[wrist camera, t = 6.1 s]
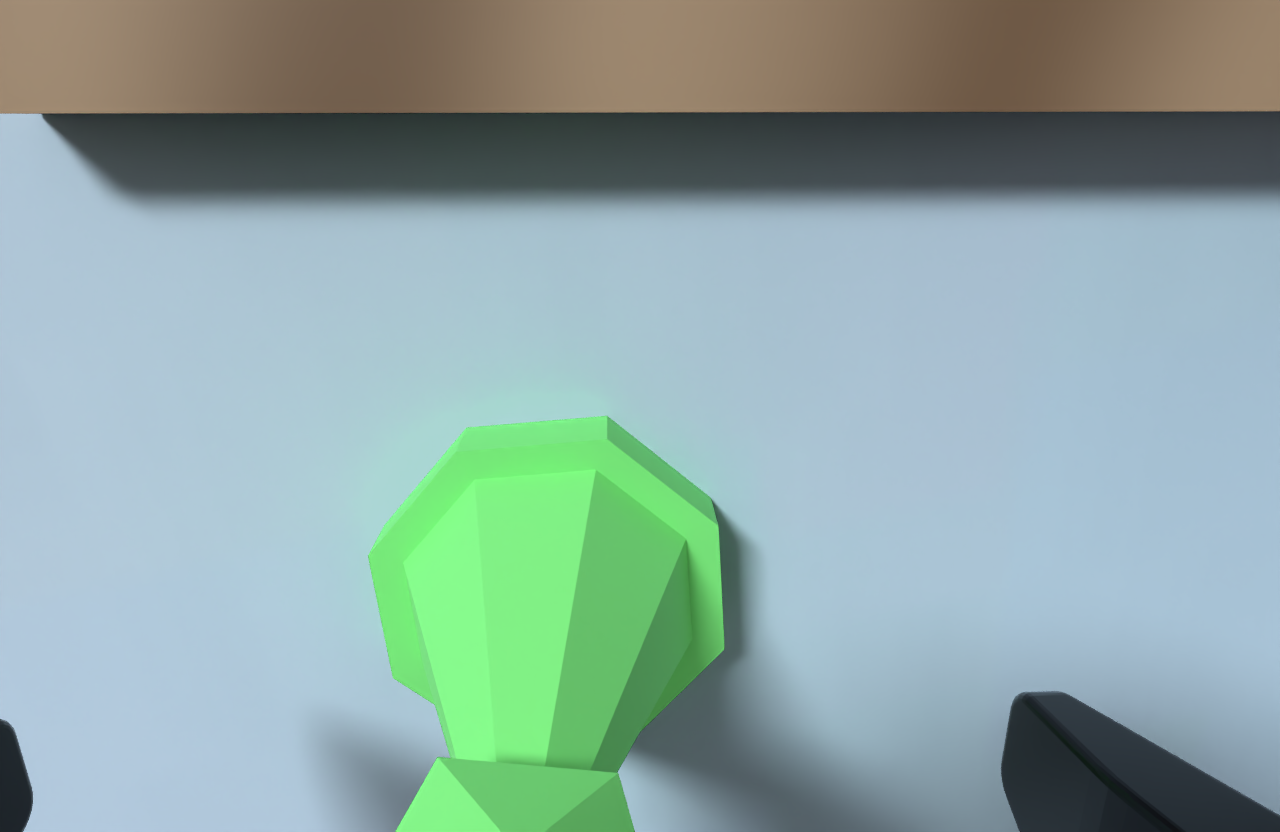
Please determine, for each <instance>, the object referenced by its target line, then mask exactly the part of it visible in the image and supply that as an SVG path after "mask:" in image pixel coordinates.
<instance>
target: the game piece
mask: <svg viewBox="0 0 1280 832" xmlns="http://www.w3.org/2000/svg"><path fill="white" fill-rule="evenodd" d="M368 558H369V563H370V568H371V573H372V578H373V583H374V588H375V592H376V597H377V602H378V607H379V612H380V617H381V622H382V627H383V632H384V637H385V641H386V646H387V651H388V656H389V661H390V666H391V671H392V676H393V678H394V679H395V680H397V681H398V682H400V683H402V684H403V685H405V686H406V687H408V688H409V689H411V690H412V691H414V692H416V693H417V694H419V695H420V696H422V697H423V698H425V699H427V700H428V701H430V702H431V703H433V704H434V705H435V707H436V710H437V714H438V717H439V720H440V724H441V727H442V731H443V734H444V737H445V741H446V744H447V747H448V751H449V754H450V757H451V758H443V757H437V759H436V761H435V762H434V764H433V766H432V768H431V769H430V771H429V773H428V775H427V777H426V778H425V780H424V782H423V784H422V785H421V787H420V789H419V791H418V792H417V794H416V796H415V798H414V800H413V801H412V803H411V805H410V807H409V808H408V810H407V812H406V814H405V815H404V817H403V819H402V821H401V823H400V824H399V826H398V828H397V830H396V831H395V832H635V830H634V827H633V823H632V820H631V816H630V813H629V809H628V806H627V802H626V799H625V795H624V792H623V788H622V785H621V781H620V778H619V774H618V773H617V772H618V770H619V769H620V767H621V765H622V763H623V761H624V760H625V758H626V756H627V754H628V753H629V751H630V749H631V747H632V745H633V744H634V742H635V740H636V738H637V736H638V735H639V733H640V732H641V731H642V730H643V729H644V728H645V727H646V726H647V725H648V724H649V723H650V722H651V721H652V720H653V719H654V718H655V717H656V716H657V715H658V714H659V713H660V712H661V711H662V710H663V709H664V708H665V707H666V706H667V705H668V704H669V703H670V702H671V701H672V700H673V699H674V698H675V697H676V696H677V695H679V694H680V693H681V692H682V691H683V690H684V689H685V688H686V687H687V686H688V685H689V684H690V683H691V682H692V681H693V680H694V679H695V678H696V677H697V676H698V675H699V674H700V673H701V672H702V671H703V670H704V669H705V668H706V667H707V666H708V665H709V664H710V663H711V662H712V661H713V660H714V659H715V658H716V657H717V656H718V655H719V654H720V653H721V652H722V651H723V650H724V649H725V648H724V627H723V607H722V587H721V566H720V546H719V526H718V522H717V519H716V515H715V511H714V508H713V504H712V500H711V498H710V497H709V496H708V495H706V494H705V493H704V492H703V491H701V490H700V489H699V488H698V487H696V486H695V485H694V484H693V483H691V482H690V481H689V480H687V479H686V478H685V477H684V476H682V475H681V474H680V473H679V472H677V471H676V470H675V469H674V468H672V467H671V466H670V465H669V464H667V463H666V462H665V461H663V460H662V459H661V458H660V457H658V456H657V455H656V454H655V453H653V452H652V451H651V450H650V449H648V448H647V447H646V446H644V445H643V444H642V443H641V442H639V441H638V440H637V439H636V438H634V437H633V436H632V435H631V434H629V433H628V432H627V431H625V430H624V429H623V428H622V427H620V426H619V425H618V424H617V423H615V422H614V421H613V420H612V419H610V418H609V417H608V416H601V417H589V418H577V419H564V420H552V421H540V422H528V423H516V424H504V425H492V426H480V427H468V428H466V429H465V430H464V431H463V433H462V434H461V435H460V436H459V437H458V438H457V440H456V441H455V442H454V443H453V444H452V446H451V447H450V448H449V449H448V450H447V452H446V453H445V454H444V455H443V456H442V458H441V459H440V460H439V461H438V462H437V463H436V465H435V466H434V467H433V468H432V469H431V471H430V472H429V473H428V474H427V475H426V477H425V478H424V479H423V480H422V481H421V482H420V484H419V485H418V486H417V487H416V488H415V490H414V491H413V492H412V493H411V494H410V496H409V497H408V498H407V499H406V500H405V501H404V503H403V504H402V505H401V506H400V507H399V509H398V510H397V511H396V512H395V513H394V515H393V516H392V517H391V518H390V519H389V521H388V522H387V523H386V524H385V525H384V527H383V529H382V531H381V533H380V534H379V536H378V538H377V540H376V542H375V544H374V546H373V548H372V549H371V551H370V553H369V555H368Z"/></svg>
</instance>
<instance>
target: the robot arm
mask: <svg viewBox="0 0 1280 832" xmlns="http://www.w3.org/2000/svg"><path fill="white" fill-rule="evenodd" d="M1001 776H1002V783H1003V787H1004V791H1005V794H1006V797H1007V800H1008V802H1009V805H1010V808H1011V810H1012V813H1013V815H1014V818H1015V821H1016V823H1017V826H1018V829H1019V831H1020V832H1280V815H1278V814H1276V813H1275V812H1273V811H1271V810H1269V809H1268V808H1266V807H1264V806H1262V805H1261V804H1259V803H1257V802H1255V801H1254V800H1252V799H1250V798H1248V797H1247V796H1245V795H1243V794H1241V793H1240V792H1238V791H1236V790H1234V789H1233V788H1231V787H1229V786H1227V785H1226V784H1224V783H1222V782H1220V781H1219V780H1217V779H1215V778H1213V777H1212V776H1210V775H1208V774H1206V773H1205V772H1203V771H1201V770H1199V769H1198V768H1196V767H1194V766H1192V765H1191V764H1189V763H1187V762H1185V761H1184V760H1182V759H1180V758H1178V757H1177V756H1175V755H1173V754H1171V753H1170V752H1168V751H1166V750H1164V749H1163V748H1161V747H1159V746H1157V745H1156V744H1154V743H1152V742H1150V741H1149V740H1147V739H1145V738H1144V737H1142V736H1140V735H1138V734H1137V733H1135V732H1133V731H1131V730H1130V729H1128V728H1126V727H1124V726H1123V725H1121V724H1119V723H1117V722H1116V721H1114V720H1112V719H1110V718H1109V717H1107V716H1105V715H1103V714H1102V713H1100V712H1098V711H1096V710H1095V709H1093V708H1091V707H1089V706H1088V705H1086V704H1084V703H1082V702H1081V701H1079V700H1077V699H1075V698H1074V697H1072V696H1070V695H1068V694H1066V693H1063V692H1058V691H1047V692H1023V693H1021V694H1019V695H1017V696H1016V697H1015V699H1014V701H1013V703H1012V706H1011V710H1010V716H1009V722H1008V727H1007V733H1006V739H1005V745H1004V751H1003V757H1002V763H1001ZM32 804H33V792H32V787H31V783H30V780H29V777H28V773H27V770H26V767H25V763H24V760H23V756H22V753H21V750H20V746H19V743H18V739H17V736H16V733H15V731H14V728H13V727H12V726H11V725H10V724H9V723H8V722H7V721H5V720H2V719H0V832H23V831H24V829H25V827H26V825H27V822H28V820H29V817H30V814H31V811H32Z"/></svg>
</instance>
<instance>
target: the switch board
mask: <svg viewBox="0 0 1280 832" xmlns="http://www.w3.org/2000/svg"><path fill="white" fill-rule="evenodd" d="M1203 111H1280V0H0V113H22V114H48V113H625V112H1203Z"/></svg>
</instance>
